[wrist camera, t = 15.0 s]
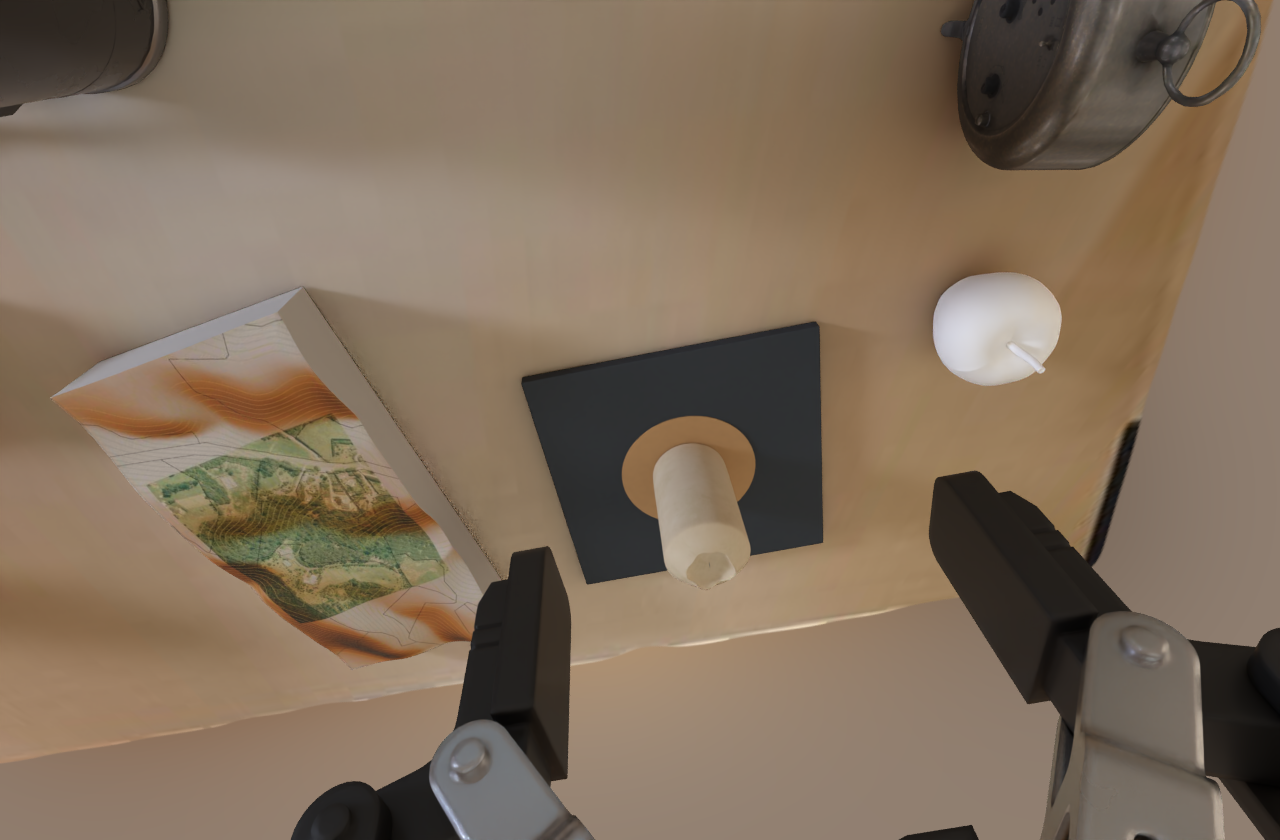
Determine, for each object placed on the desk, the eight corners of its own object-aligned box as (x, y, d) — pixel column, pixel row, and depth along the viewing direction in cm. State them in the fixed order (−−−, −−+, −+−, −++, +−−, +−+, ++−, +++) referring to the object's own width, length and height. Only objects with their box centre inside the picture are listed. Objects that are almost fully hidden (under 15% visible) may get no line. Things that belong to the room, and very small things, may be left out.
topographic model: (99, 361, 40) (42, 403, 35) (302, 286, 38) (267, 321, 34) (362, 640, 56) (344, 691, 52) (513, 596, 54) (507, 646, 50)
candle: (735, 447, 46) (768, 546, 38) (713, 504, 49) (739, 607, 40) (662, 436, 45) (679, 535, 36) (644, 495, 48) (657, 599, 39)
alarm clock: (997, 142, 36) (1242, 224, 23) (906, 144, 36) (1099, 228, 22) (1068, -103, 30) (1458, -190, 17) (959, -104, 30) (1267, -194, 16)
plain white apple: (939, 371, 45) (1001, 436, 38) (894, 300, 41) (954, 357, 35) (1033, 311, 42) (1117, 368, 36) (995, 231, 39) (1079, 277, 32)
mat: (586, 577, 53) (586, 586, 53) (521, 377, 42) (520, 383, 42) (820, 536, 53) (823, 543, 52) (816, 321, 42) (820, 326, 41)
